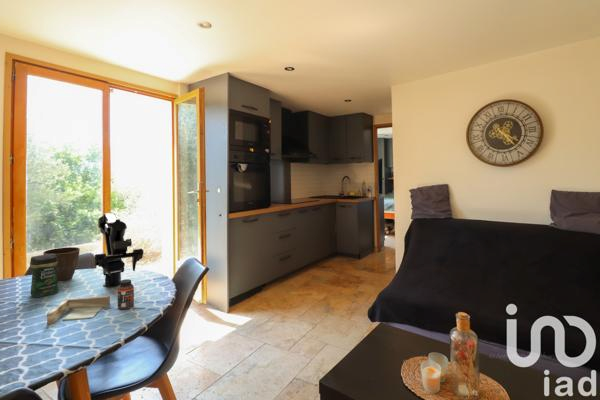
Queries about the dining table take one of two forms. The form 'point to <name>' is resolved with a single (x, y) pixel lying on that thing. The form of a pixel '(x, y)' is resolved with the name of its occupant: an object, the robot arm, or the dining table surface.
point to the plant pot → (65, 262)
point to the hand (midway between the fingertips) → (122, 272)
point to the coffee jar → (44, 275)
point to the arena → (78, 308)
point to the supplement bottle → (125, 294)
